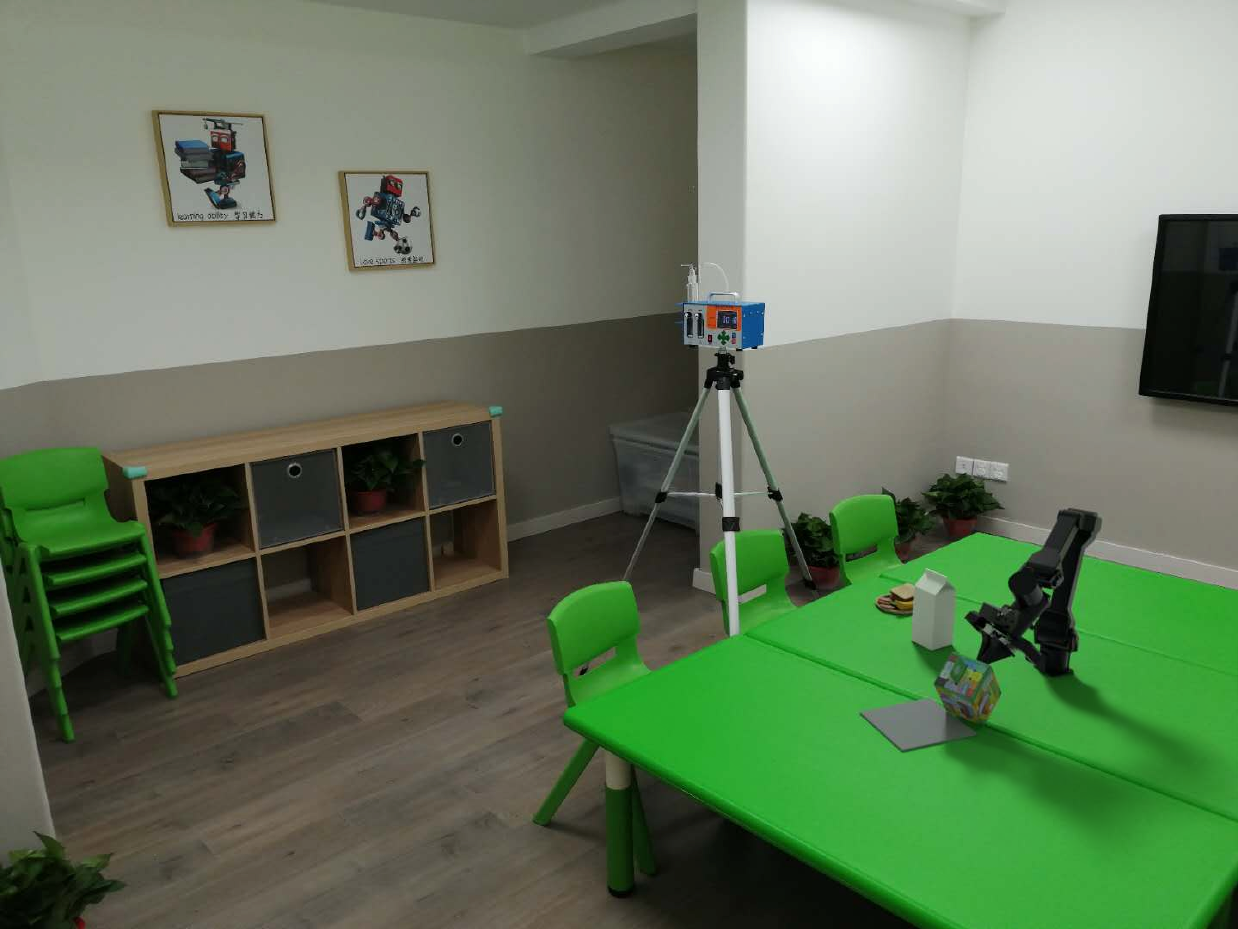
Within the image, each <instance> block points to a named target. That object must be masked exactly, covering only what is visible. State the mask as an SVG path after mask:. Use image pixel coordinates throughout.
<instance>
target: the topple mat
mask: <svg viewBox="0 0 1238 929" xmlns="http://www.w3.org/2000/svg"><path fill="white" fill-rule="evenodd" d="M859 715H861V716H862V717H863V718H864V719H865V720H866V721H868V722H869V723H870V724H871V725H872V726H873V727H875V729H877V731H878V732H880V733H881V734H882V736H884V737H885V738H886V739H888V740H889V741H890V742H891V743H892V744H893V745H894V746H895V747H896V748H897V749H898V750H900V751H901V752H906V751H911V750H915V749H920V748H925V747H930V746H934V745H939V744H942V743H948V742H951V741H958V740H961V739H966V738H970V737H977V736H978V733H977V732H976V731H974V730H973V729H972V728H970V727H969V726H968V725H967V724H965V723H964V722H963V721H961V720H960V719H959V718H958V717H956V715H955V716H954V714H953V713H951V712H948V711H946V710H945V707H944V706H942V705H940V703H938V702H936V700H934V699H932V698H931V697H927V698H922V699H916V700H912V701H906V702H902V703H896V704H892V705H887V706H882V707H876V708H872V709H867V710H863V711H859Z"/></svg>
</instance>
